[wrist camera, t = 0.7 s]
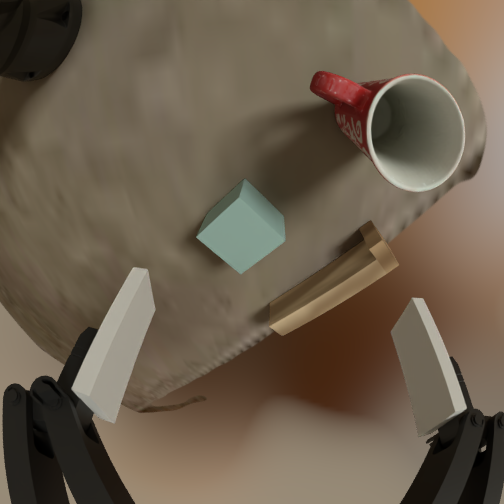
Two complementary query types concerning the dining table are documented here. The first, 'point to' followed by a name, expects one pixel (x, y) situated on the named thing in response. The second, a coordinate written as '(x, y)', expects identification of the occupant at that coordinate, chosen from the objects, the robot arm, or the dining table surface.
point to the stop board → (333, 282)
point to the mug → (399, 125)
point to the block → (242, 227)
